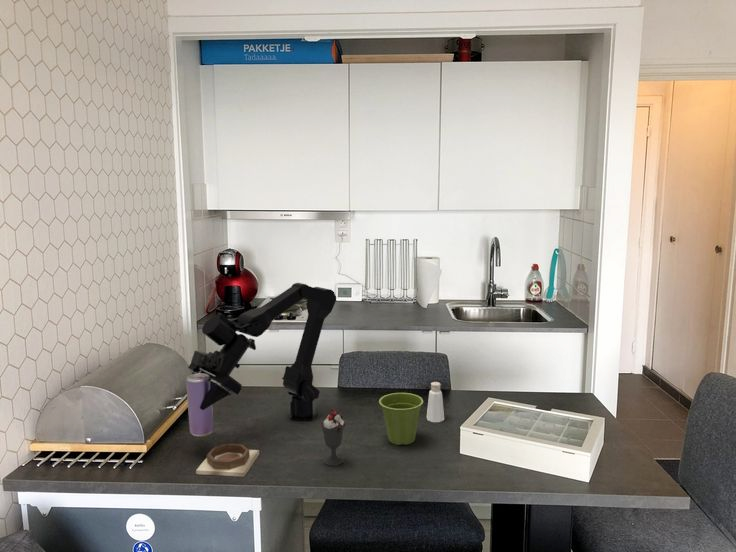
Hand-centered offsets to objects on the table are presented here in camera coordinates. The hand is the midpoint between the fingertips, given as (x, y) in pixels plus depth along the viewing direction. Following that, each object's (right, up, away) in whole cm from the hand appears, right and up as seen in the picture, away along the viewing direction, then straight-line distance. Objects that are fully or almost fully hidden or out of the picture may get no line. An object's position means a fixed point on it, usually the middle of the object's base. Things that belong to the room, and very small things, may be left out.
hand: (195, 405), depth 154 cm
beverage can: (+1, -8, +2) cm, 8 cm away
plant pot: (+53, -11, +9) cm, 55 cm away
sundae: (+36, -14, -2) cm, 38 cm away
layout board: (+9, -14, -3) cm, 17 cm away
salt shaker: (+64, -9, +23) cm, 69 cm away
